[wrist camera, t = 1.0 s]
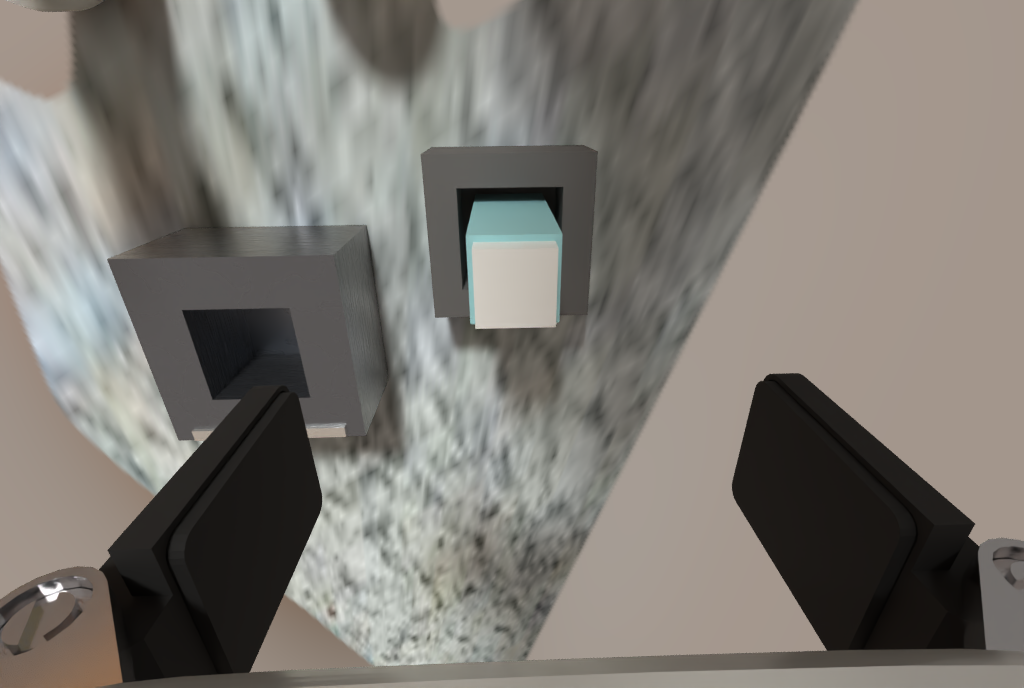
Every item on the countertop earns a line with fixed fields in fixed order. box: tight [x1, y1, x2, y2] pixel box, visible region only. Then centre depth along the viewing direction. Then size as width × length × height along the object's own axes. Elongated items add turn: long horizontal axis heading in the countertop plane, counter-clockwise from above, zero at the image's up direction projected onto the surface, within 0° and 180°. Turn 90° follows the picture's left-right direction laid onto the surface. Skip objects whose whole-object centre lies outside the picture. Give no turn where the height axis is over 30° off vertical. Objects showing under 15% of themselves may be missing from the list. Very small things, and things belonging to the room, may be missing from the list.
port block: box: [107, 225, 388, 441], centre depth 26 cm, size 10×10×6 cm
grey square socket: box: [421, 145, 598, 318], centre depth 25 cm, size 8×8×4 cm
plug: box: [466, 193, 562, 329], centre depth 22 cm, size 4×4×10 cm
